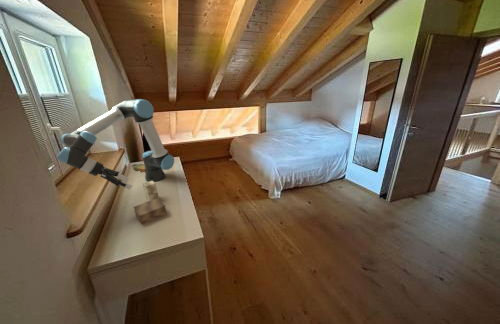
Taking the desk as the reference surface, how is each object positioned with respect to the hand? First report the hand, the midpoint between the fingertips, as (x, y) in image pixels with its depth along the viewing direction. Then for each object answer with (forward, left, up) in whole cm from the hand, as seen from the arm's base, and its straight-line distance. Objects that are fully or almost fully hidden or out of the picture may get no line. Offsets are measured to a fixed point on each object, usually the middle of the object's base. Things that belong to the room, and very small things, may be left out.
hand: (129, 183), depth 130 cm
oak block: (-11, +2, -15) cm, 19 cm away
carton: (-27, -59, -16) cm, 67 cm away
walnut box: (-3, +19, -16) cm, 25 cm away
